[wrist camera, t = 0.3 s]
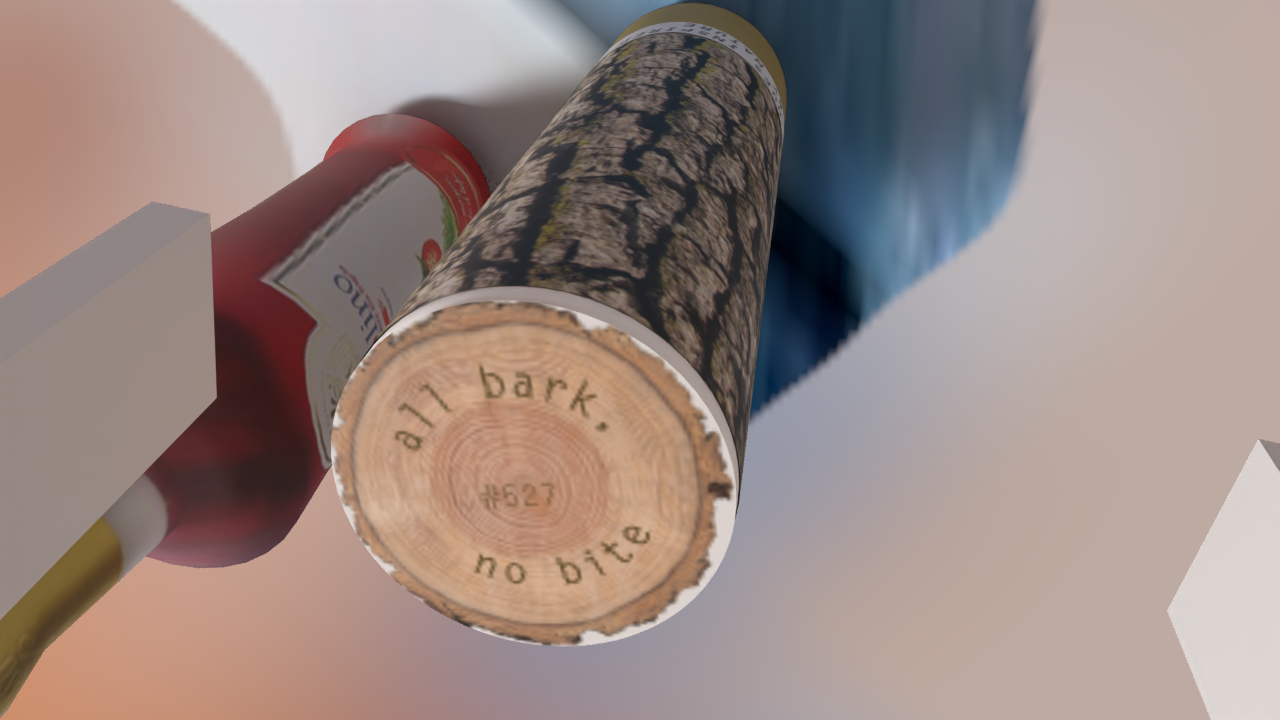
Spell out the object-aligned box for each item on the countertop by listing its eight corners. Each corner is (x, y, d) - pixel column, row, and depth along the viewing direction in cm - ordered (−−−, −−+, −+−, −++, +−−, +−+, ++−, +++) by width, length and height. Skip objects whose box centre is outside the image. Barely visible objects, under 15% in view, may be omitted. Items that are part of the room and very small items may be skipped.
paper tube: (588, 8, 39) (281, 309, 17) (781, -12, 37) (717, 286, 16) (614, 191, 42) (382, 645, 20) (793, 178, 40) (753, 649, 19)
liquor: (515, 277, 44) (130, 899, 20) (344, 275, 45) (-220, 861, 21) (495, 97, 41) (0, 579, 16) (311, 99, 42) (-411, 553, 17)
